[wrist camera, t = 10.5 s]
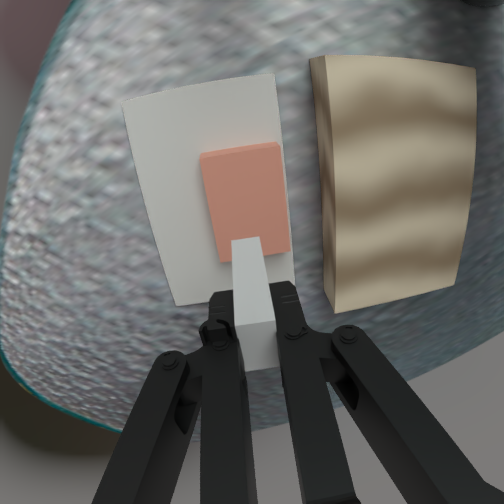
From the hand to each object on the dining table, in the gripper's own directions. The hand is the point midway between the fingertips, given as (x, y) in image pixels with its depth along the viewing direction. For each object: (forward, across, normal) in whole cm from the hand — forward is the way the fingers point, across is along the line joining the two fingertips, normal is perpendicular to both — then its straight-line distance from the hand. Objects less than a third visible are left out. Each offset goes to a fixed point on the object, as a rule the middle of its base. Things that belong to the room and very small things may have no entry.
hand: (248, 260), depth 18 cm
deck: (+11, +14, 0) cm, 18 cm away
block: (+8, 0, 0) cm, 8 cm away
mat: (+11, -2, 0) cm, 11 cm away
